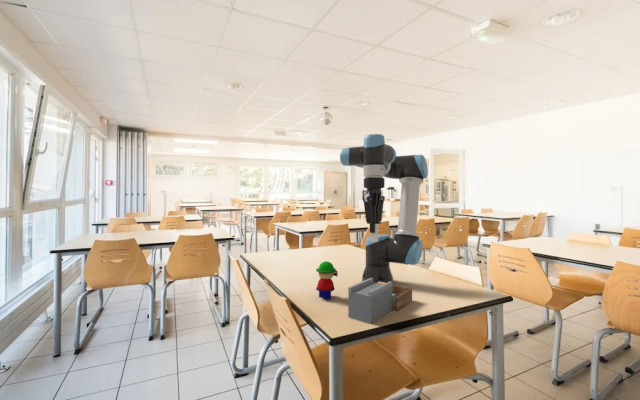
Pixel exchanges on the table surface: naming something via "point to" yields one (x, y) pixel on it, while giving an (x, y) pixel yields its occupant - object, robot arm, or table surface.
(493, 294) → the table surface
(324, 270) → the toy
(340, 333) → the table surface
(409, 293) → the crate
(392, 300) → the teal square block
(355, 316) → the grey stepped block
